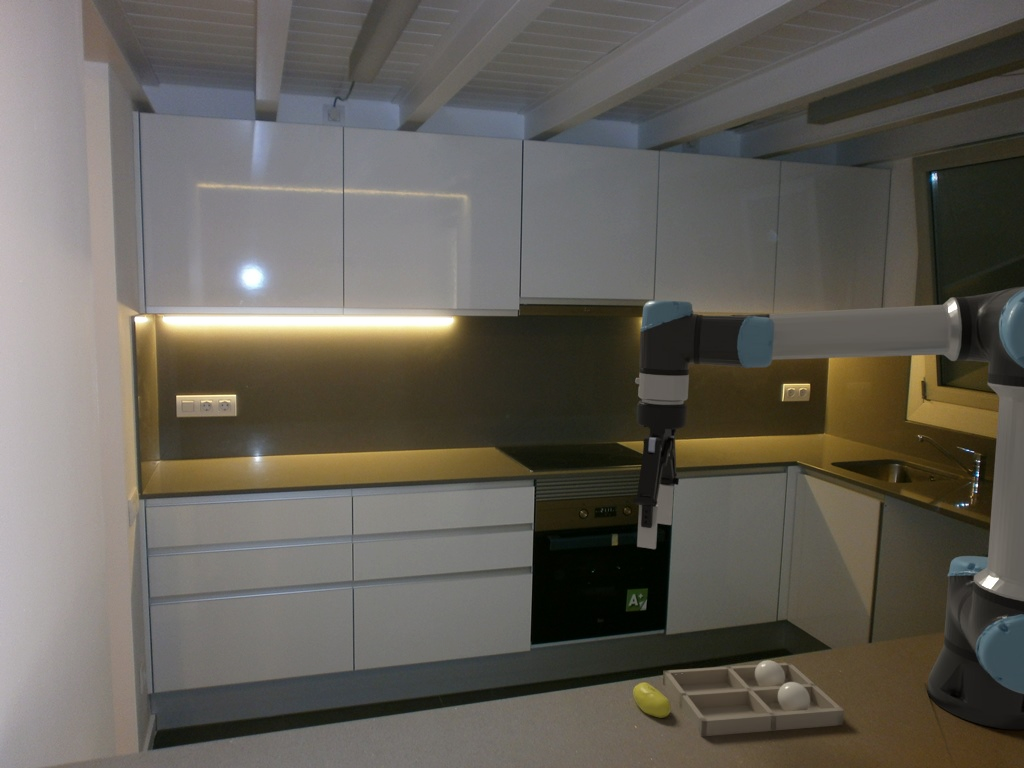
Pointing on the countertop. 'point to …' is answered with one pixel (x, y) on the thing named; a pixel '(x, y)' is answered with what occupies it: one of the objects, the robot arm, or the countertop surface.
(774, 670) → the egg back right
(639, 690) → the yellow oval piece
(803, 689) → the egg back left
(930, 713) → the countertop surface
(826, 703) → the divided tray
